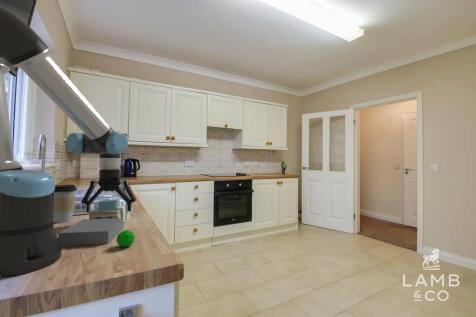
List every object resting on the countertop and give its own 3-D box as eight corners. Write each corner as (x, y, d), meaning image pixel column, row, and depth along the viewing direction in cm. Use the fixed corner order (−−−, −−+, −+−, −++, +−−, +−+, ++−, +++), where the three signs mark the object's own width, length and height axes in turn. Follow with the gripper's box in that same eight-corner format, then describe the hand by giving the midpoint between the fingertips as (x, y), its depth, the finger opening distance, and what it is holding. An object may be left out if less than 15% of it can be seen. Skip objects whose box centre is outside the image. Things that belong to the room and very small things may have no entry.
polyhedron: (127, 242, 75) (127, 227, 75) (138, 245, 72) (138, 229, 72) (113, 247, 70) (113, 231, 70) (123, 250, 68) (123, 234, 68)
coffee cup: (65, 224, 94) (66, 187, 94) (42, 223, 94) (43, 186, 94) (82, 218, 103) (82, 184, 103) (61, 217, 103) (61, 184, 103)
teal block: (114, 210, 94) (114, 201, 94) (98, 210, 93) (98, 201, 93) (119, 207, 100) (119, 198, 100) (104, 207, 99) (104, 199, 99)
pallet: (117, 226, 91) (117, 211, 91) (89, 228, 89) (89, 212, 89) (126, 219, 103) (126, 205, 103) (101, 219, 101) (102, 206, 101)
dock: (108, 243, 73) (108, 231, 73) (58, 246, 70) (58, 233, 70) (123, 228, 89) (123, 218, 89) (83, 230, 86) (83, 219, 86)
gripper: (143, 168, 102) (143, 216, 102) (80, 168, 98) (80, 218, 98) (139, 169, 95) (139, 221, 95) (71, 169, 90) (71, 223, 90)
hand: (109, 219), depth 96 cm, fingers open, 13 cm apart
